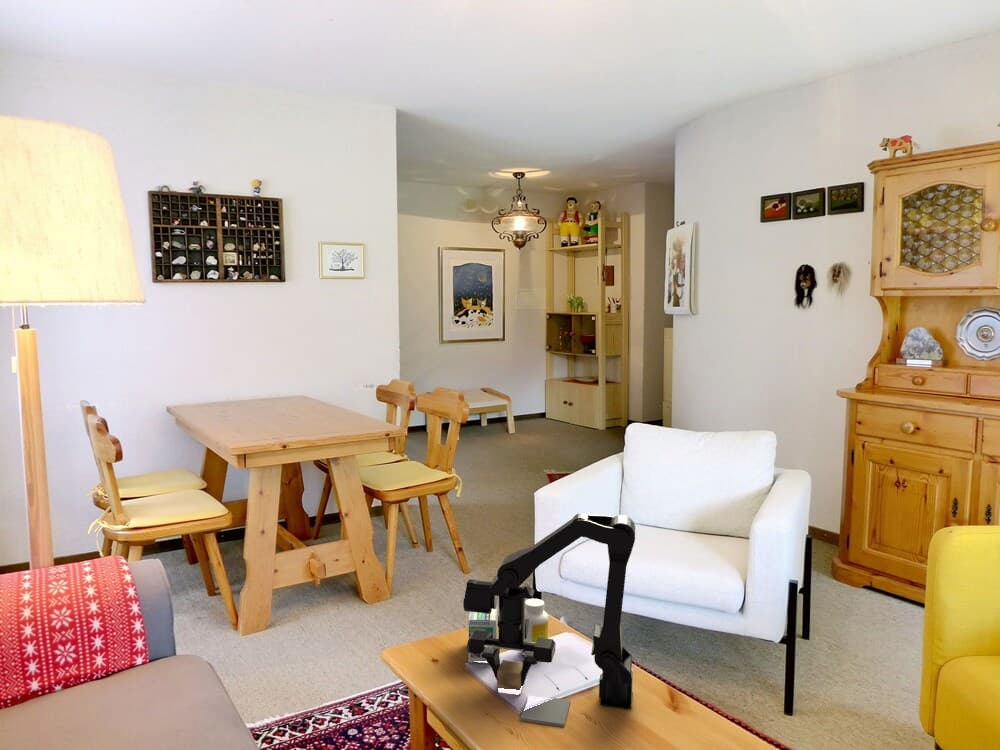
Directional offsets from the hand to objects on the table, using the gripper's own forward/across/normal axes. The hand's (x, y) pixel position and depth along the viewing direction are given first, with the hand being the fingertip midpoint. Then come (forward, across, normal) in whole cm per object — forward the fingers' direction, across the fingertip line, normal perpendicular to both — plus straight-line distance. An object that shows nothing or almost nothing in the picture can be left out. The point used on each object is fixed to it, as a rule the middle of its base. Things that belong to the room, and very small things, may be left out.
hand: (510, 683), depth 157 cm
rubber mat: (+1, -9, +7) cm, 11 cm away
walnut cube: (+1, 0, 0) cm, 1 cm away
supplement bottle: (+2, -2, -17) cm, 17 cm away
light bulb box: (+2, +10, -14) cm, 17 cm away
